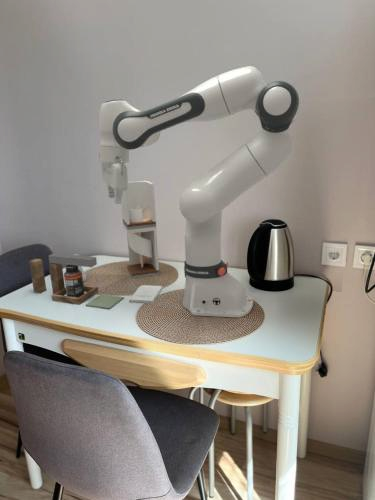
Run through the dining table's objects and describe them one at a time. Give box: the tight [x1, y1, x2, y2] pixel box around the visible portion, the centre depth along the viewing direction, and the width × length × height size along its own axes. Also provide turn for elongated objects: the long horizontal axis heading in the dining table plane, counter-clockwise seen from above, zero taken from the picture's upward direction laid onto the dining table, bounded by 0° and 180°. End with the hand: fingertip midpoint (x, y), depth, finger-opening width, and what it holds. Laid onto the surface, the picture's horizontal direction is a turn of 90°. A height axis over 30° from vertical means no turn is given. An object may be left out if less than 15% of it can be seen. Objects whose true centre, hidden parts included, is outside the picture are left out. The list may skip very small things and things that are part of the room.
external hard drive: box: [128, 284, 163, 305], centre depth 135 cm, size 2×8×12 cm
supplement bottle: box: [63, 265, 86, 298], centre depth 135 cm, size 6×6×11 cm
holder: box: [28, 258, 100, 306], centre depth 137 cm, size 22×11×12 cm, turn 68°
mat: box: [85, 293, 125, 310], centre depth 131 cm, size 9×9×1 cm
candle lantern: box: [120, 180, 160, 280], centre depth 152 cm, size 11×11×35 cm
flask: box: [73, 253, 88, 283], centre depth 150 cm, size 7×7×10 cm
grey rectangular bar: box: [48, 252, 98, 268], centre depth 133 cm, size 17×3×2 cm, turn 68°
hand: (114, 200), depth 126 cm, fingers open, 8 cm apart
